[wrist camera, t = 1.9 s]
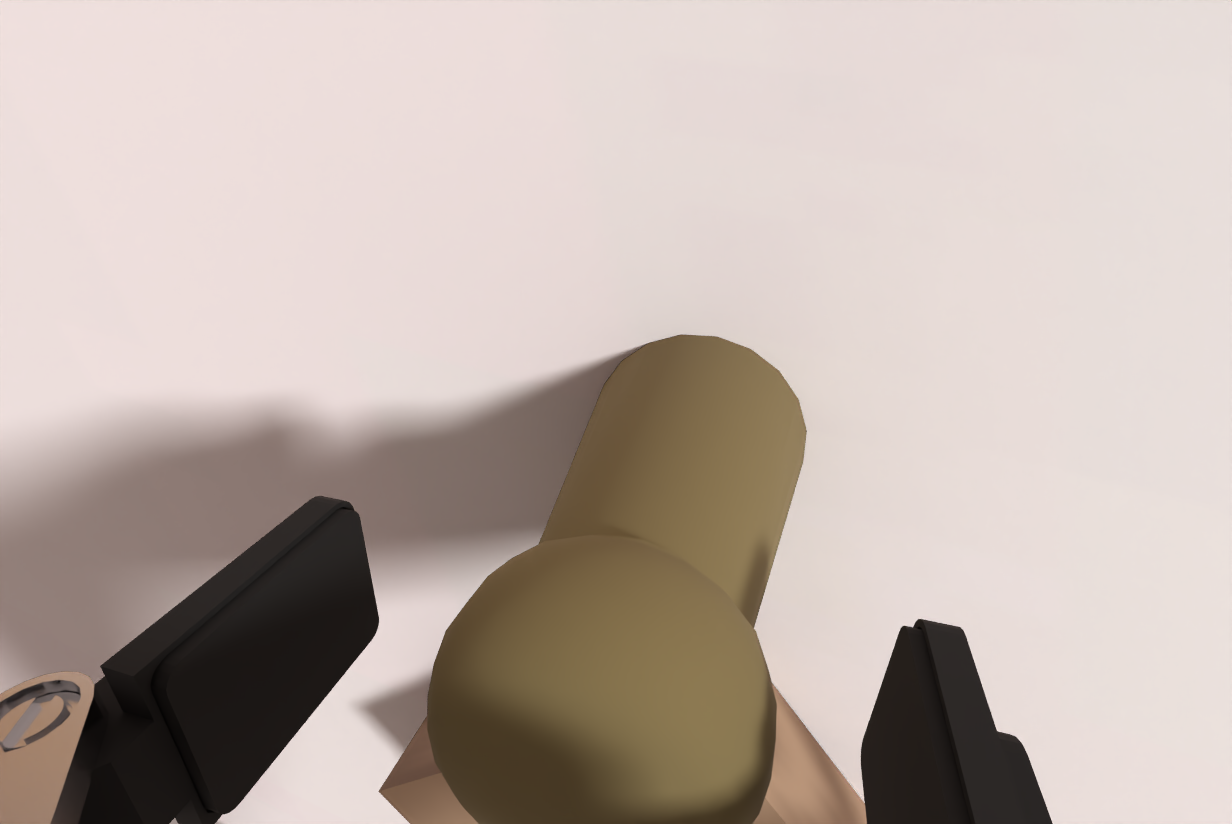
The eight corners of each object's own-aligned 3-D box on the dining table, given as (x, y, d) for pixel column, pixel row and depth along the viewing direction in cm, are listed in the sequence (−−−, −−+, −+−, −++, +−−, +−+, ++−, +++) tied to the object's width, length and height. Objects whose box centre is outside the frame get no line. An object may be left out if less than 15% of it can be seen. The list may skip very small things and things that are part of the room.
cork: (813, 525, 17) (823, 1009, 8) (615, 524, 19) (429, 911, 10) (799, 323, 15) (789, 656, 6) (576, 345, 17) (287, 619, 8)
